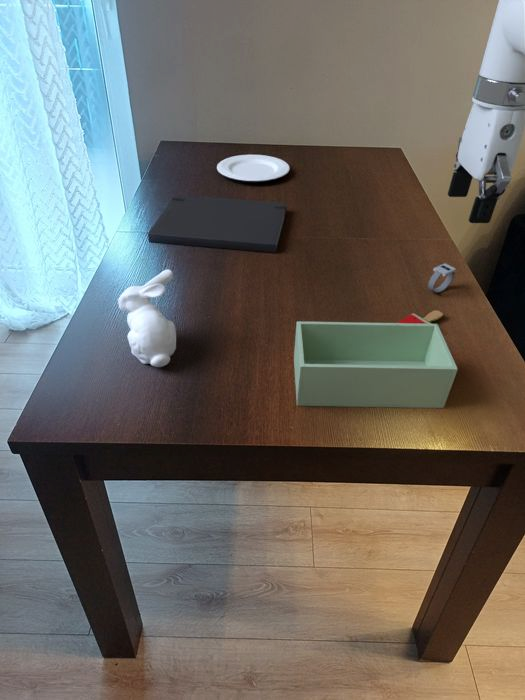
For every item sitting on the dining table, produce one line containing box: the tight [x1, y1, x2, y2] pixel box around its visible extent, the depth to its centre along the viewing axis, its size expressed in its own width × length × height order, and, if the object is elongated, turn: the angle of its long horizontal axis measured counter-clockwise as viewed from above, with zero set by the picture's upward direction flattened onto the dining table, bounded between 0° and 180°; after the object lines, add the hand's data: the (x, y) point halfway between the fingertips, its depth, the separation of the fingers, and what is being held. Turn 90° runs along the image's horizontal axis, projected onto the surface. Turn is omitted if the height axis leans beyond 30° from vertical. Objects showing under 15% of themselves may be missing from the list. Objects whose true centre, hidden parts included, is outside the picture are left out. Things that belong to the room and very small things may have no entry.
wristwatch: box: [427, 263, 457, 294], centre depth 94 cm, size 6×3×5 cm, turn 126°
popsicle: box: [397, 309, 444, 324], centre depth 85 cm, size 5×2×15 cm
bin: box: [293, 320, 458, 409], centre depth 72 cm, size 21×10×8 cm, turn 90°
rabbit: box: [117, 269, 177, 368], centre depth 76 cm, size 12×9×12 cm
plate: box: [216, 154, 291, 184], centre depth 141 cm, size 21×21×2 cm
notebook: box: [147, 194, 287, 254], centre depth 114 cm, size 22×2×28 cm
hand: (467, 208), depth 80 cm, fingers open, 9 cm apart
